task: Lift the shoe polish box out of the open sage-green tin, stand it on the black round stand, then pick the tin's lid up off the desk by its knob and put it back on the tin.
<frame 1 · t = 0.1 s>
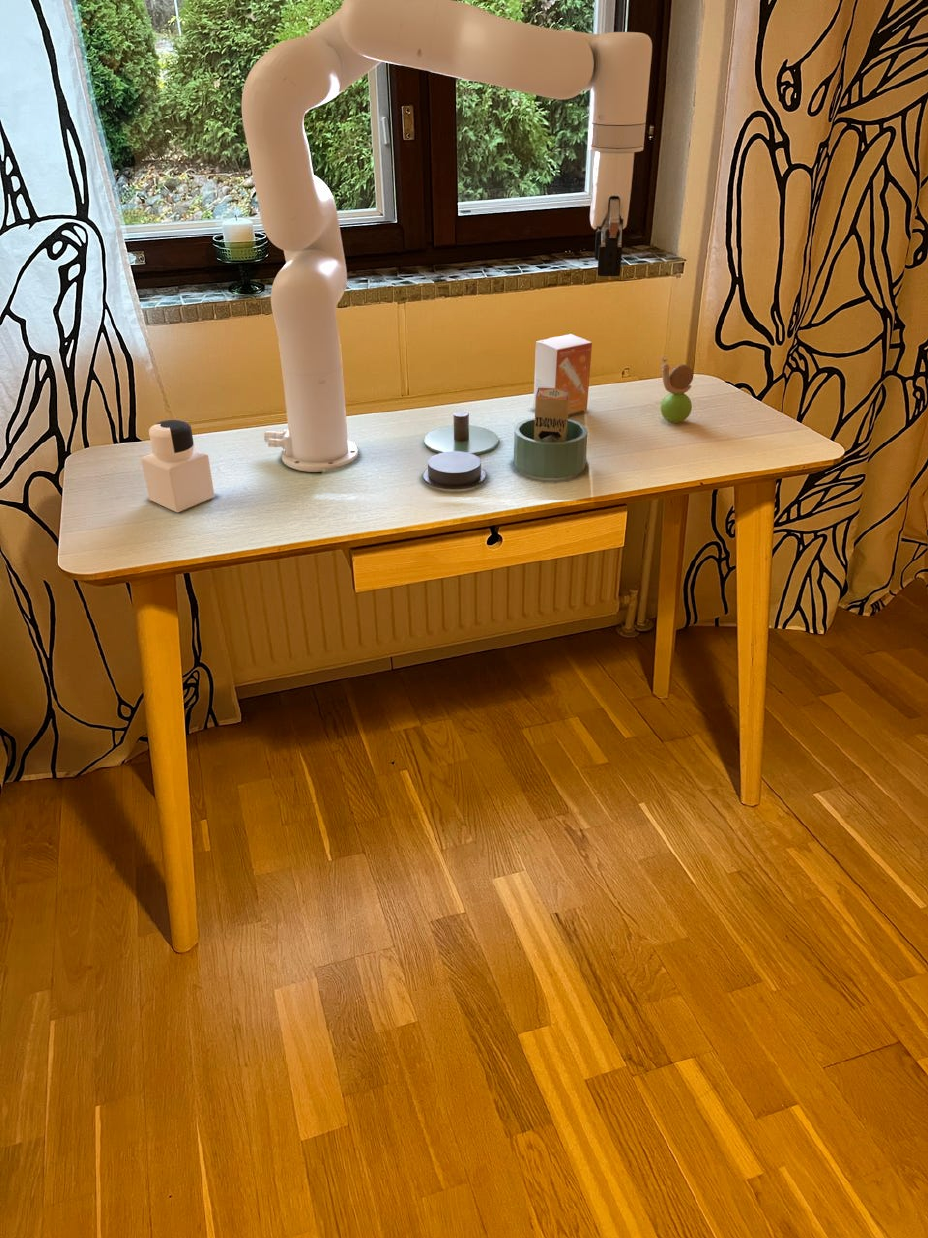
hand: (606, 267, 142), 31 cm above the table, tool pointing down, fingers open, 9 cm apart
small box: (560, 412, 179), on the table
tin: (549, 466, 158), on the table
stand: (454, 479, 154), on the table
tin lid: (461, 441, 166), point 1 cm above the table
snail figurine: (671, 422, 175), on the table
medicine bottle: (182, 500, 149), on the table
shoe polish box: (549, 465, 158), resting on tin
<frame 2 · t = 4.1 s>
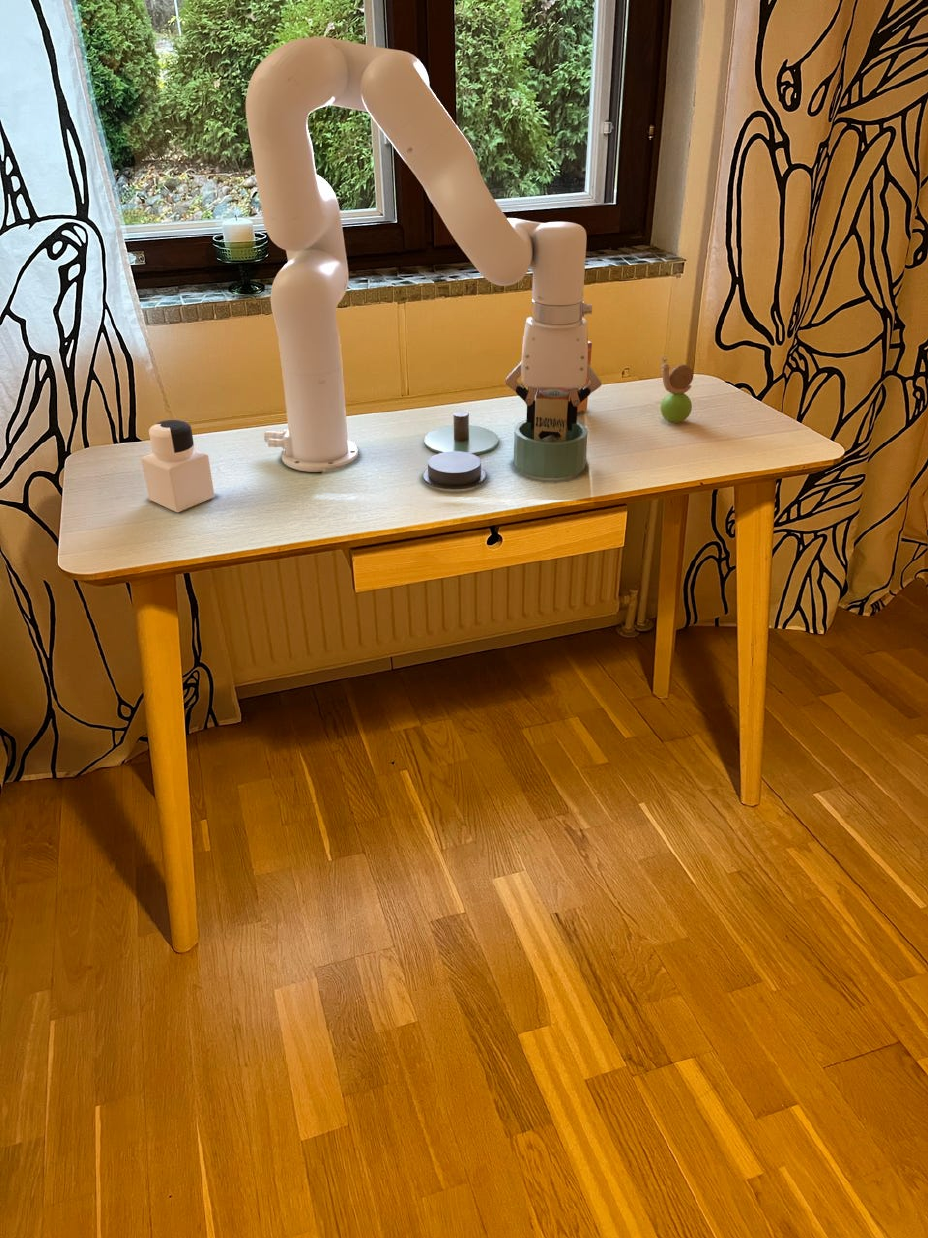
hand: (551, 425, 155), 7 cm above the table, tool pointing down, fingers closed on shoe polish box, 5 cm apart
shoe polish box: (549, 465, 158), resting on tin, touching gripper
everything else where it was.
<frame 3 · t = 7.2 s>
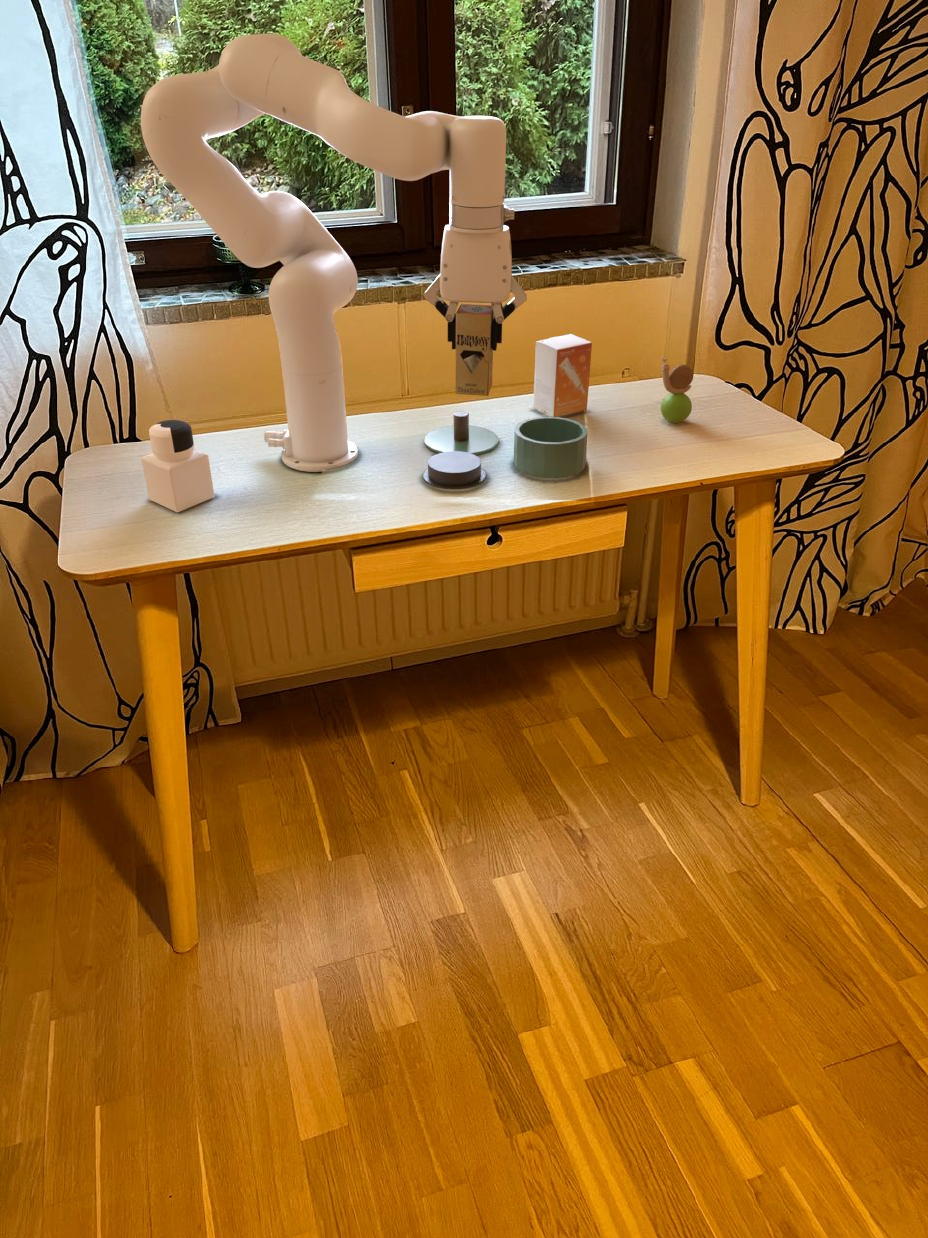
hand: (474, 345, 144), 21 cm above the table, tool pointing down, fingers closed on shoe polish box, 5 cm apart
shoe polish box: (474, 390, 148), point 14 cm above the table, touching gripper
everything else where it was.
when the fingers open (10 cm above the table, at t = 10.5 s): shoe polish box stays where it is, resting on stand.
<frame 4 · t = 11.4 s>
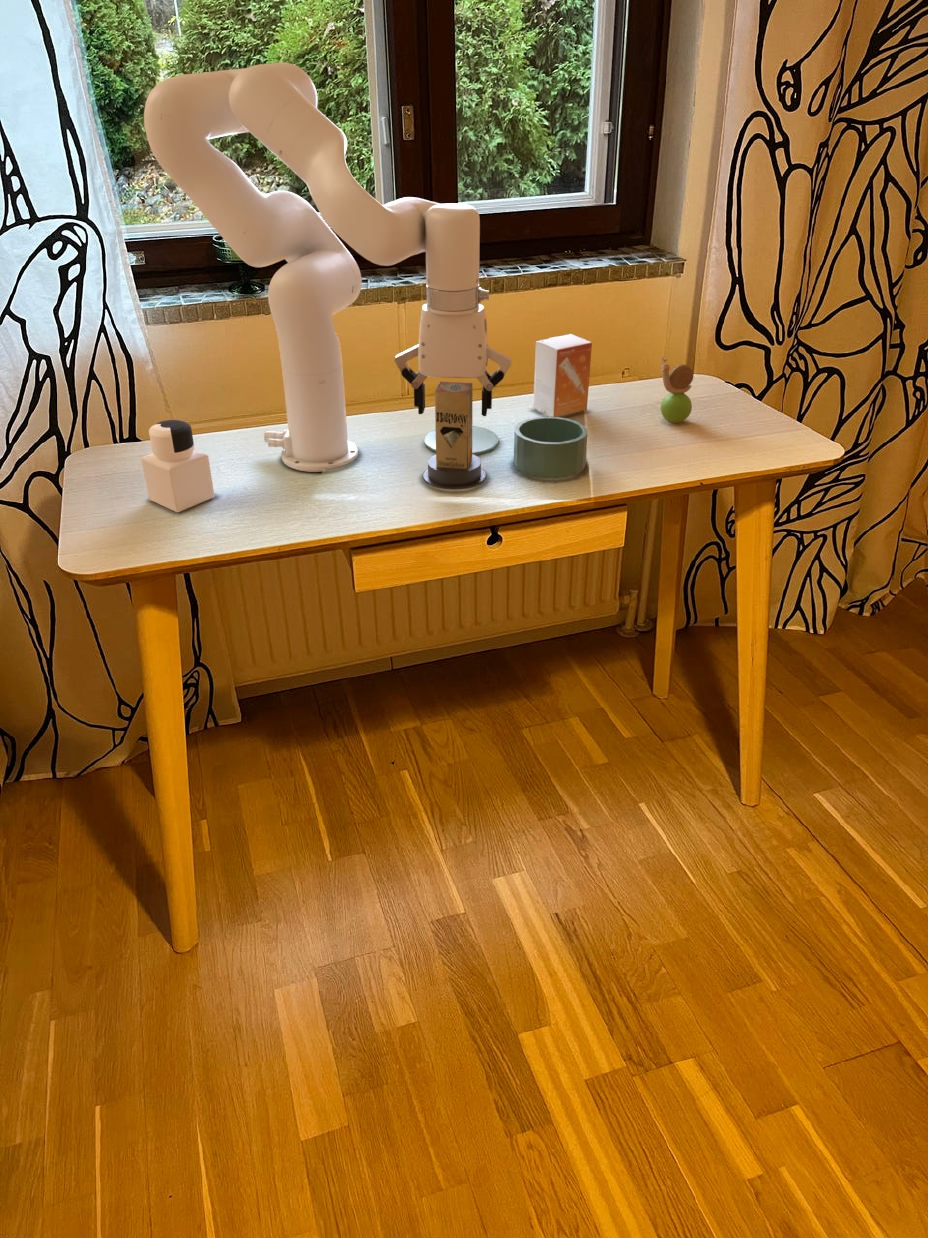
hand: (453, 411, 148), 11 cm above the table, tool pointing down, fingers open, 9 cm apart
shoe polish box: (454, 462, 153), point 3 cm above the table, touching stand
everything else where it was.
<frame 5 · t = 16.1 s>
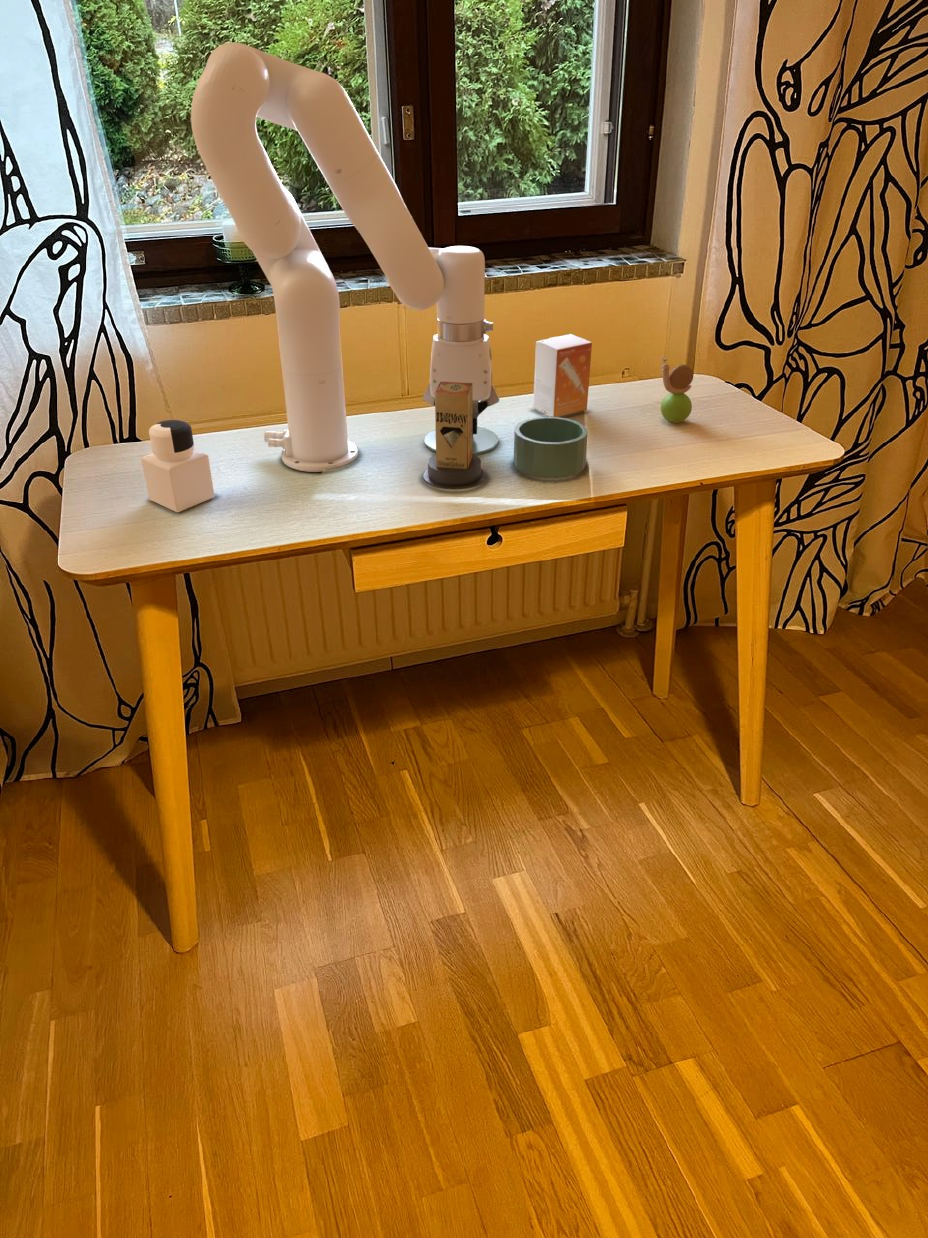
hand: (461, 436, 165), 1 cm above the table, tool pointing down, fingers closed on tin lid, 2 cm apart
tin lid: (461, 441, 166), point 1 cm above the table, touching gripper
everything else where it was.
when the fingers open (7 cm above the table, at t = 21.9 s): tin lid stays where it is, resting on tin.
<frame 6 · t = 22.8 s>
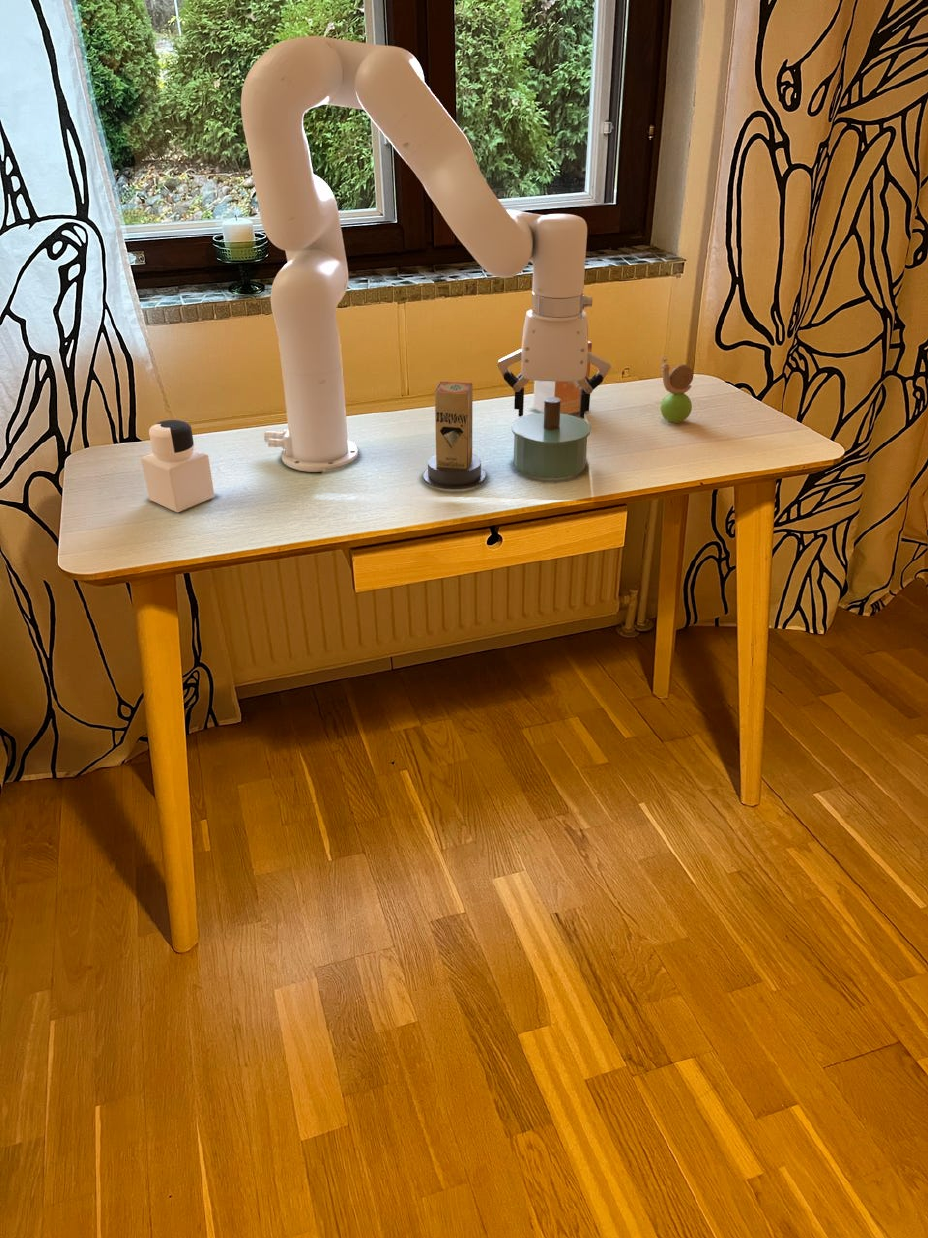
hand: (551, 414, 154), 9 cm above the table, tool pointing down, fingers open, 9 cm apart
tin lid: (551, 429, 155), point 6 cm above the table, touching tin
everything else where it was.
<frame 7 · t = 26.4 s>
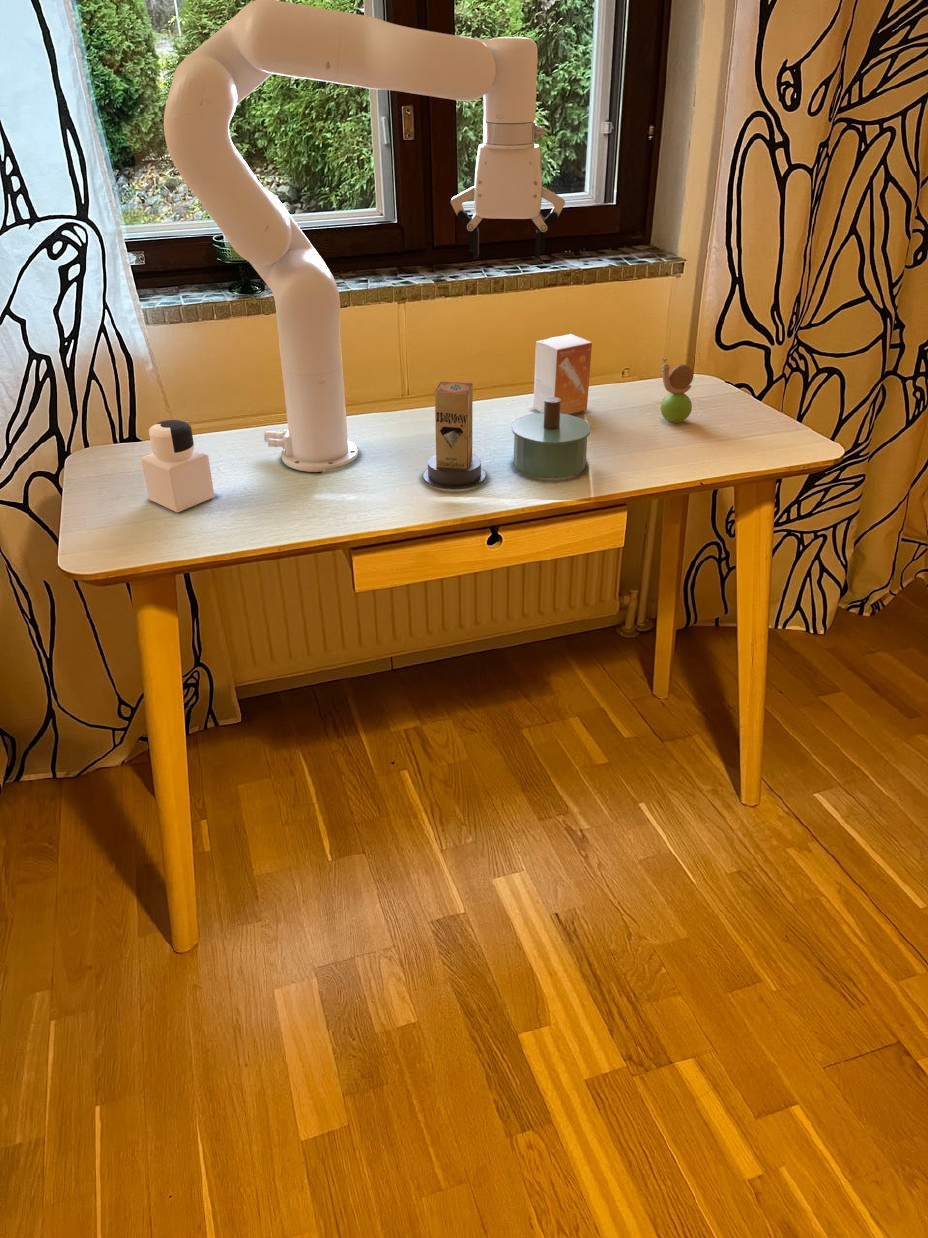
hand: (506, 256, 152), 30 cm above the table, tool pointing down, fingers open, 9 cm apart
nothing on the table moved.
at the end: shoe polish box 0.0 cm off-centre on the stand, point 2.8 cm above the stand's base; shoe polish box tilted 0°; tin lid 0.0 cm off-centre on the tin, point 6.3 cm above the tin's base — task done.
